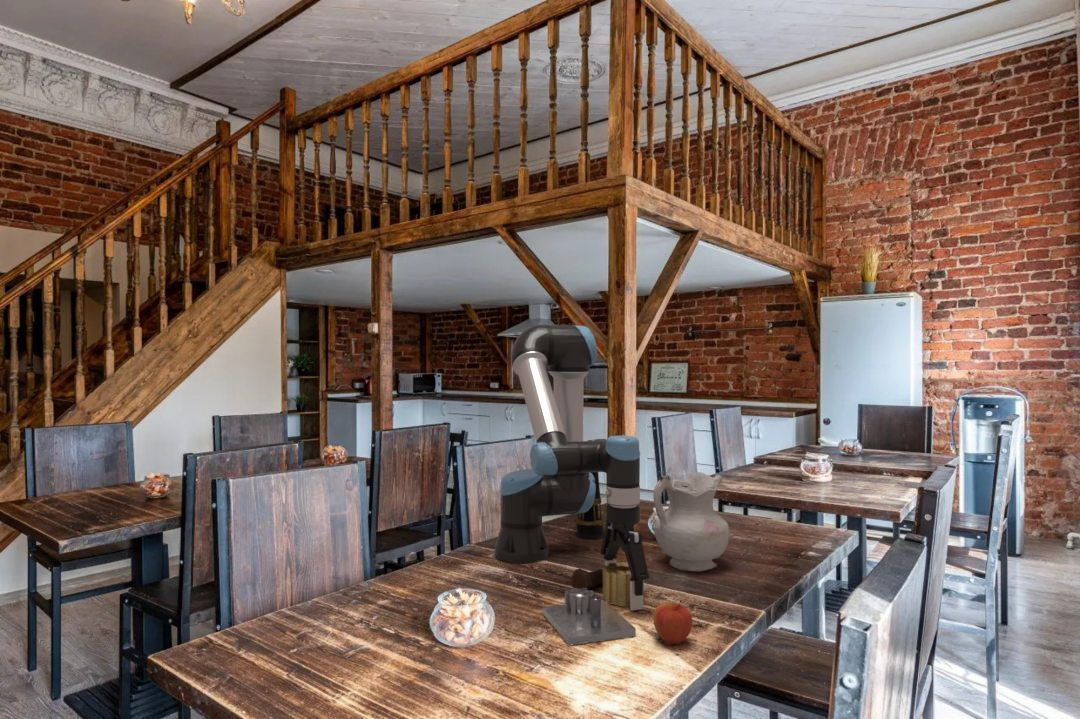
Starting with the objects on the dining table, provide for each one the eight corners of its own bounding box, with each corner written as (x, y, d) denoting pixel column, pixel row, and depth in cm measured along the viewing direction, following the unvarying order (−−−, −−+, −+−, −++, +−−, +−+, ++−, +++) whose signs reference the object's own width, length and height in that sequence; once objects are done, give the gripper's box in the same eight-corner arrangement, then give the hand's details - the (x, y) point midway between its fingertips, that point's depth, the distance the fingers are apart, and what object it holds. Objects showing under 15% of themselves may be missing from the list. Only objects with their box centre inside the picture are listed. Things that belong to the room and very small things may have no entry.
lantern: (573, 532, 200) (573, 438, 200) (601, 531, 201) (601, 437, 201) (578, 540, 191) (578, 441, 191) (607, 539, 192) (607, 441, 192)
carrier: (542, 614, 134) (542, 581, 134) (603, 606, 138) (603, 574, 138) (568, 646, 119) (568, 608, 119) (635, 636, 123) (635, 600, 123)
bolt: (625, 586, 156) (580, 599, 147) (612, 572, 159) (568, 583, 150) (634, 569, 154) (589, 580, 144) (621, 554, 157) (577, 564, 148)
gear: (596, 594, 145) (596, 564, 145) (632, 590, 148) (632, 560, 148) (613, 609, 137) (612, 577, 137) (651, 604, 139) (650, 572, 139)
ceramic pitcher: (692, 588, 153) (699, 487, 152) (631, 562, 167) (637, 470, 166) (740, 569, 167) (747, 477, 166) (680, 547, 182) (686, 462, 180)
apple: (650, 633, 124) (650, 592, 124) (688, 633, 124) (687, 593, 124) (656, 650, 117) (656, 607, 117) (696, 650, 117) (695, 607, 117)
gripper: (587, 494, 153) (587, 581, 153) (632, 518, 130) (632, 621, 129) (615, 492, 156) (615, 578, 155) (664, 515, 132) (665, 617, 132)
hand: (623, 598), depth 142 cm, fingers open, 13 cm apart
